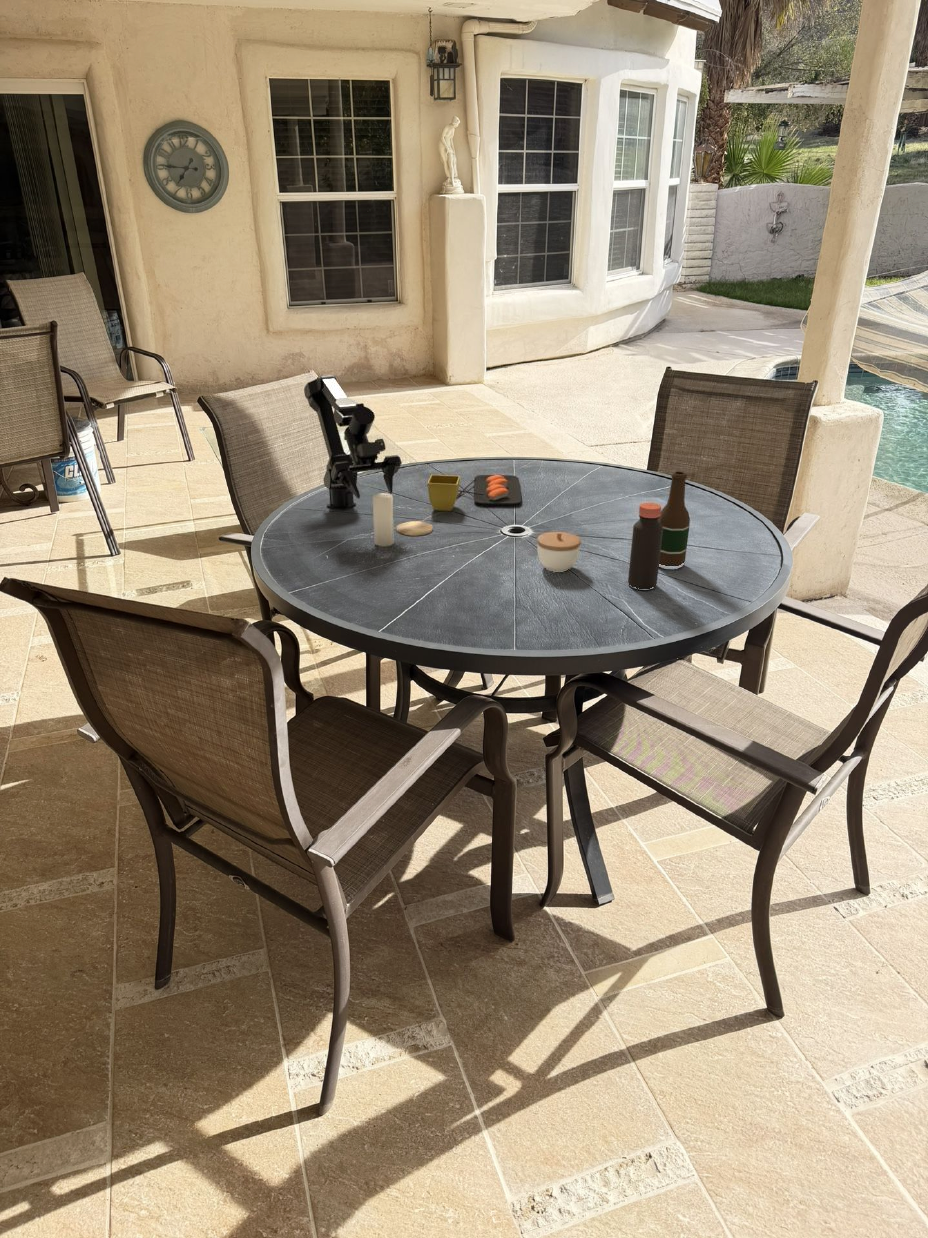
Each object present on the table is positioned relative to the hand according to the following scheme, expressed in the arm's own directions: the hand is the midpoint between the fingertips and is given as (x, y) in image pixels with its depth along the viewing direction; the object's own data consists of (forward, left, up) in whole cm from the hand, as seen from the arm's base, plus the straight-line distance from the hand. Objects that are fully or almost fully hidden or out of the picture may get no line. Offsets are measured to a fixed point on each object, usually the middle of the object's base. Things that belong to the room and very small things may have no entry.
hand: (375, 495), depth 231 cm
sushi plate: (+1, +48, -12) cm, 50 cm away
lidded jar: (+51, +6, -12) cm, 53 cm away
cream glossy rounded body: (+4, -3, -12) cm, 13 cm away
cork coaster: (+5, +10, -12) cm, 16 cm away
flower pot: (+2, +30, -12) cm, 32 cm away
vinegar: (+73, +7, -12) cm, 75 cm away
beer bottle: (+74, +23, -12) cm, 79 cm away
